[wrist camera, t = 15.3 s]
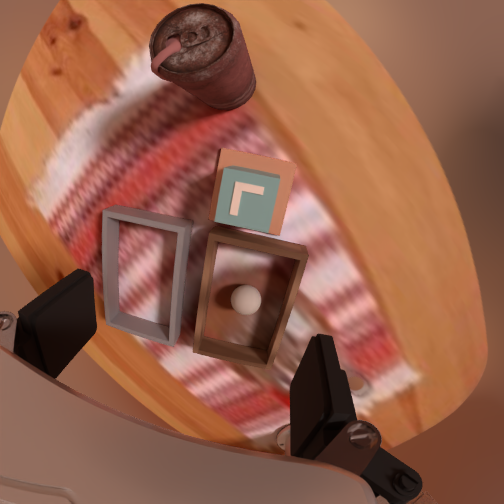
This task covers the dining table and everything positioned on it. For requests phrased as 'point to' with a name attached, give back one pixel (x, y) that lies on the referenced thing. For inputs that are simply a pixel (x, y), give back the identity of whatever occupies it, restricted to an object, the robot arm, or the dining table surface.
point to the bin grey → (111, 272)
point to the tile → (262, 164)
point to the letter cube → (247, 198)
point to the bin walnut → (267, 357)
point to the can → (204, 55)
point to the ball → (245, 299)
